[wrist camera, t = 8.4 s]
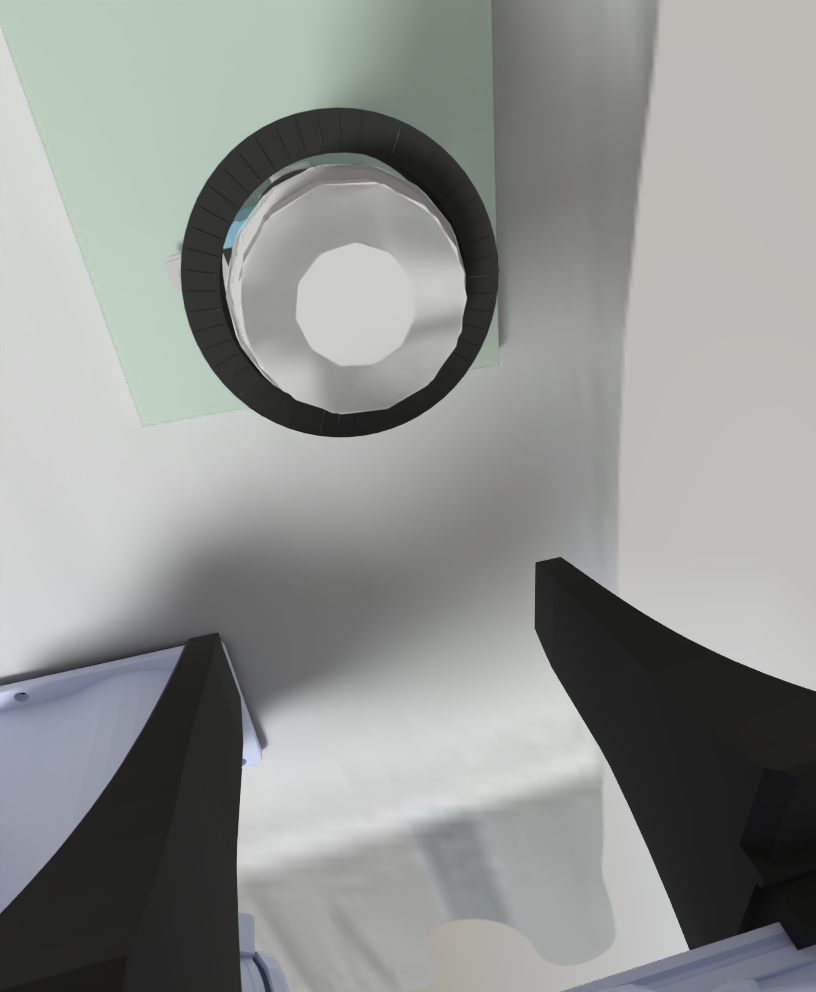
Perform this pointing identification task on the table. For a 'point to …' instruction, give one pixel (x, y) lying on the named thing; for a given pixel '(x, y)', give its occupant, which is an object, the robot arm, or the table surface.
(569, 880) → the table surface
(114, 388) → the table surface
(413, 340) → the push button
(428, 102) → the sage board
